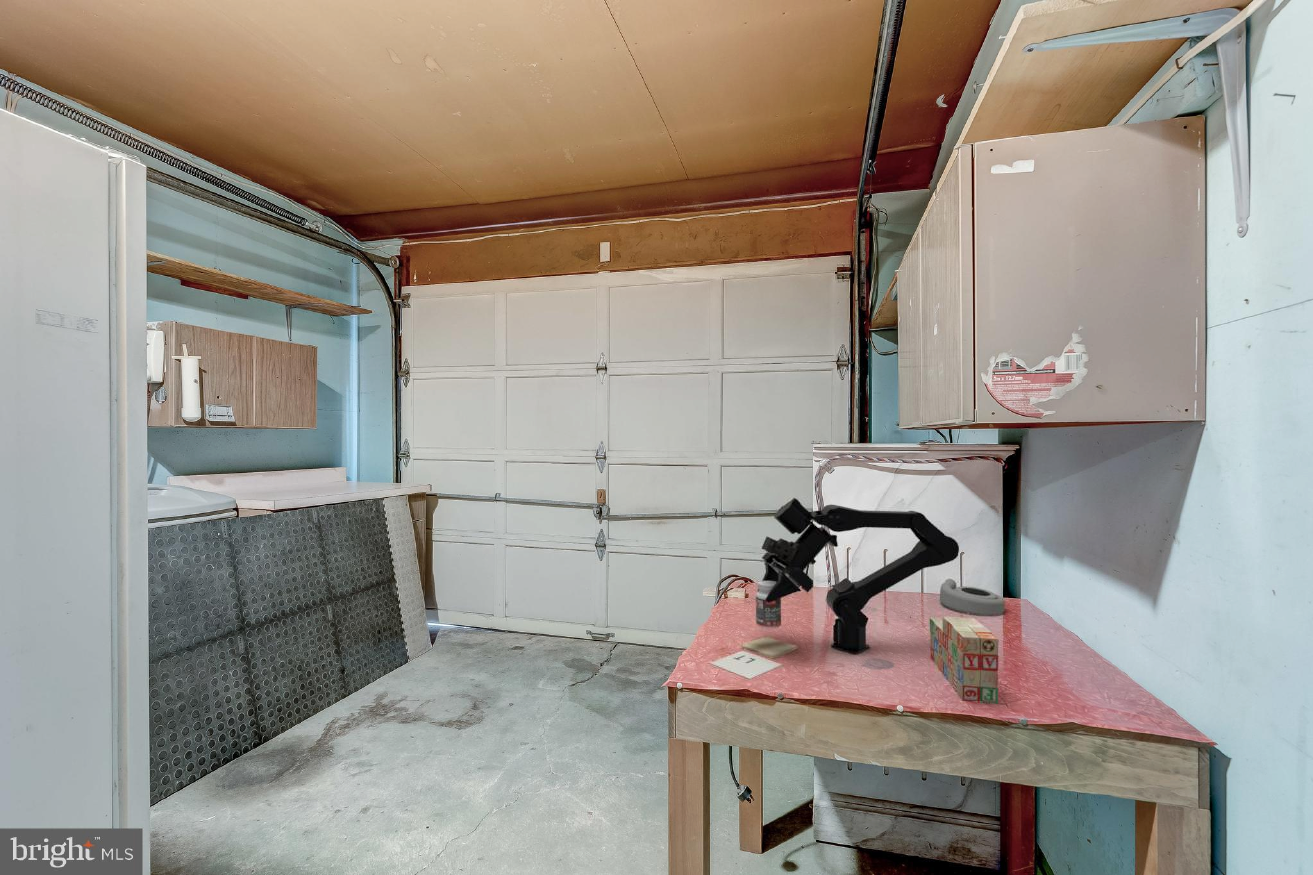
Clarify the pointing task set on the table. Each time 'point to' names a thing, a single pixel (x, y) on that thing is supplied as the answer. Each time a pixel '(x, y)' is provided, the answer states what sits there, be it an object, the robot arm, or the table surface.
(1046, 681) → the table surface
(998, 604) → the turbocharger housing
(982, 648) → the stack of blocks
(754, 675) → the card
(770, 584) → the pill bottle
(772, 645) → the oak coaster
